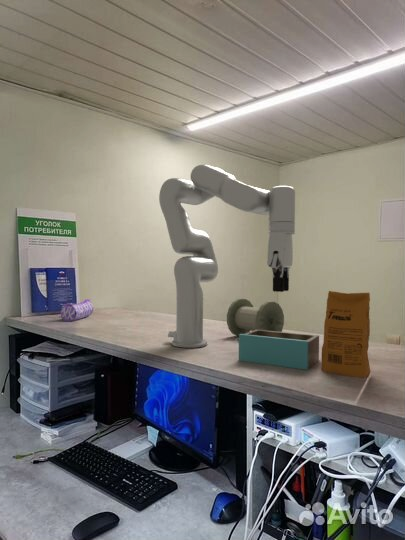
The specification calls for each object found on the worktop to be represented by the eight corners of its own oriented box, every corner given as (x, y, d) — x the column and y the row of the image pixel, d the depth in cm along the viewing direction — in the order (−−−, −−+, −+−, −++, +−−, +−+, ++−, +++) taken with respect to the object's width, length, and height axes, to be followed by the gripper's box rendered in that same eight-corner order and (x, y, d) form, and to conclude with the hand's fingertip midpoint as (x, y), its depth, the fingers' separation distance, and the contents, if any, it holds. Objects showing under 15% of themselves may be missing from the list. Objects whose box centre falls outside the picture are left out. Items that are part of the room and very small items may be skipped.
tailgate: (238, 360, 117) (238, 334, 117) (240, 359, 119) (240, 333, 118) (307, 369, 108) (307, 341, 108) (308, 368, 109) (308, 340, 109)
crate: (240, 362, 119) (240, 335, 119) (255, 354, 129) (255, 329, 129) (308, 371, 109) (308, 342, 109) (318, 362, 120) (319, 335, 119)
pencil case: (76, 322, 196) (76, 303, 196) (58, 321, 198) (58, 302, 198) (94, 316, 218) (94, 299, 218) (78, 316, 220) (78, 298, 220)
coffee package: (327, 366, 115) (328, 289, 115) (373, 373, 108) (375, 291, 108) (316, 374, 107) (317, 291, 106) (365, 382, 100) (367, 293, 99)
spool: (226, 337, 160) (226, 299, 159) (252, 333, 169) (252, 297, 169) (258, 343, 147) (258, 303, 147) (283, 339, 157) (284, 300, 157)
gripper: (278, 231, 128) (277, 289, 128) (259, 227, 113) (258, 292, 113) (301, 231, 124) (301, 290, 124) (285, 226, 110) (284, 293, 110)
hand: (280, 290), depth 119 cm, fingers open, 3 cm apart
